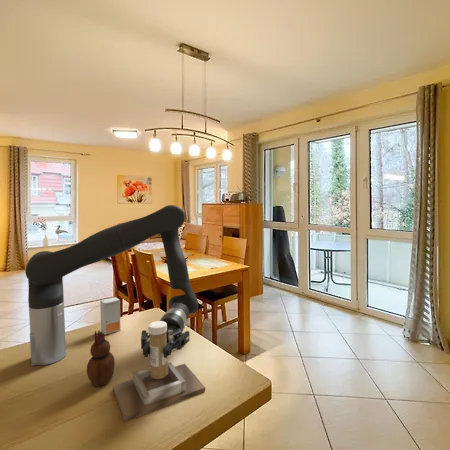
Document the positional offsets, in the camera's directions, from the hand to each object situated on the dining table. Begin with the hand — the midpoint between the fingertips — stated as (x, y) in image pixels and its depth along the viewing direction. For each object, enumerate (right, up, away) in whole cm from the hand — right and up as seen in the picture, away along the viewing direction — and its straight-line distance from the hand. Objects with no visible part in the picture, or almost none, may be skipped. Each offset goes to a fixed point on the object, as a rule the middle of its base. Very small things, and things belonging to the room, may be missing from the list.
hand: (155, 353), depth 72 cm
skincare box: (-26, -9, +38) cm, 47 cm away
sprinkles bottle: (0, -7, +3) cm, 8 cm away
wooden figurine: (-16, -11, +7) cm, 21 cm away
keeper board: (0, -11, +3) cm, 11 cm away
